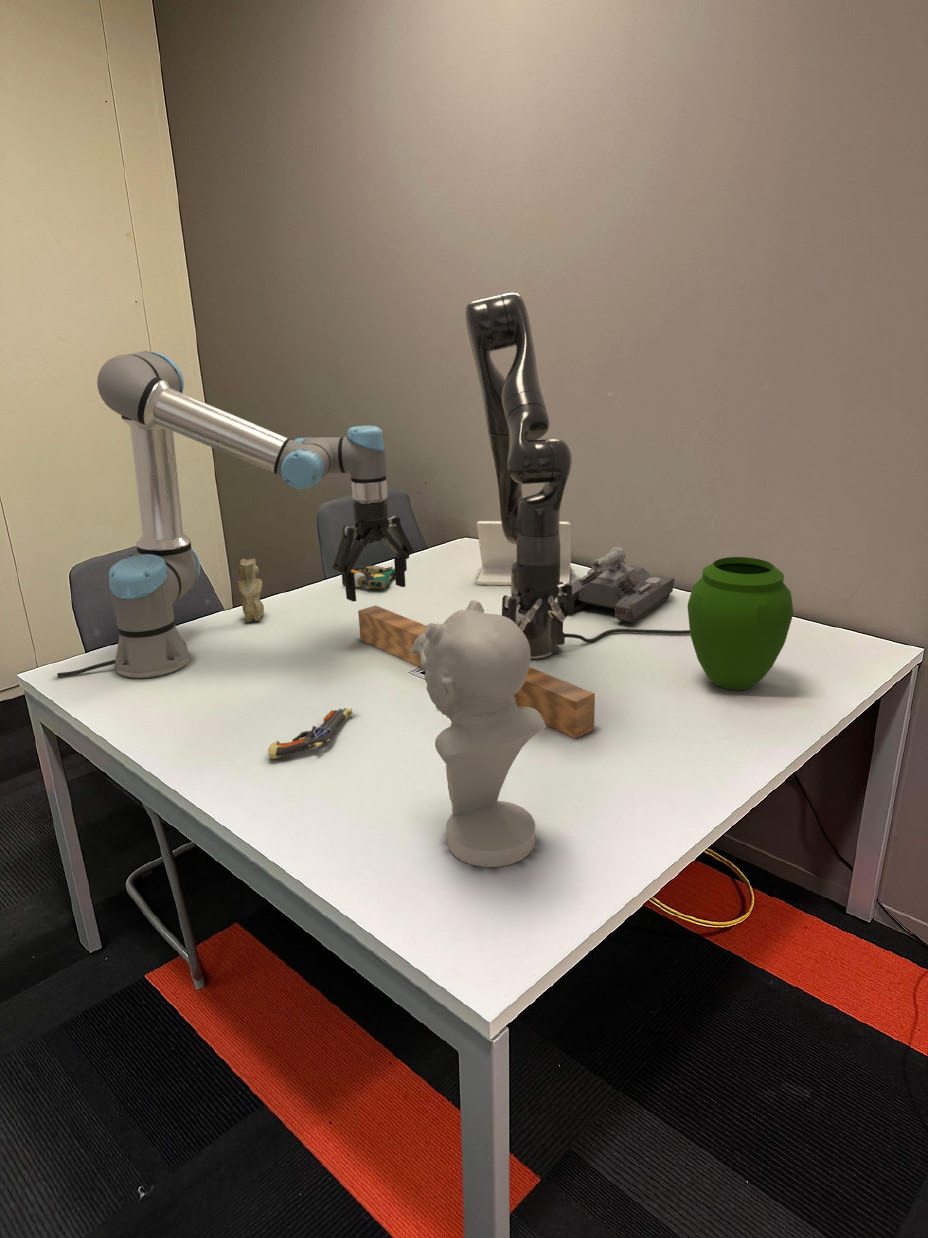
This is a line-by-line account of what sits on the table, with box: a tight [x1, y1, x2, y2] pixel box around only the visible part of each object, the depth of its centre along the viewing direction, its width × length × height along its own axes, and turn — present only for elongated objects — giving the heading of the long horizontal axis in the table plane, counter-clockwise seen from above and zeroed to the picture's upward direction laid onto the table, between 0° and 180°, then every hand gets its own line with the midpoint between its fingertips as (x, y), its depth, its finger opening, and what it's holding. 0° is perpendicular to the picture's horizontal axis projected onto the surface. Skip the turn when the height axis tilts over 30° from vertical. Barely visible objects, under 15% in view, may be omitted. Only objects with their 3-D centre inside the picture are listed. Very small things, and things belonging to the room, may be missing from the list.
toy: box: [556, 546, 676, 624], centre depth 212 cm, size 25×20×15 cm
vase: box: [687, 556, 794, 691], centre depth 166 cm, size 20×20×24 cm
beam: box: [357, 605, 596, 740], centre depth 174 cm, size 66×5×7 cm, turn 41°
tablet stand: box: [476, 520, 572, 586], centre depth 236 cm, size 18×25×17 cm
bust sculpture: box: [411, 599, 547, 868], centre depth 121 cm, size 16×24×35 cm
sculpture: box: [237, 558, 265, 623], centre depth 209 cm, size 6×7×15 cm
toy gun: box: [267, 707, 354, 760], centre depth 153 cm, size 3×19×10 cm
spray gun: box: [351, 565, 395, 589], centre depth 236 cm, size 4×17×15 cm
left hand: (376, 592), depth 192 cm, fingers open, 13 cm apart
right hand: (537, 645), depth 152 cm, fingers open, 8 cm apart
